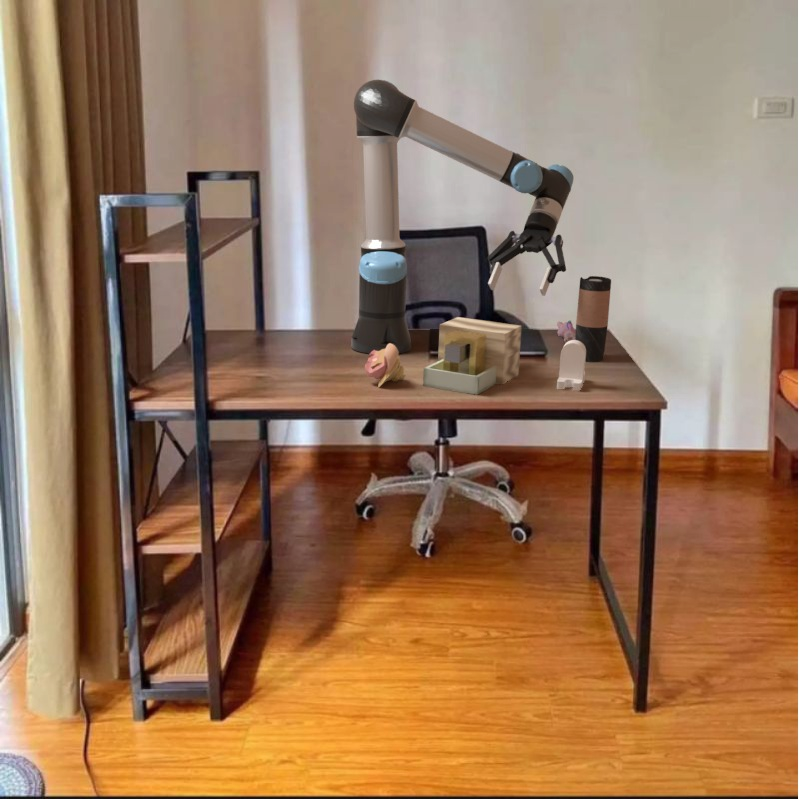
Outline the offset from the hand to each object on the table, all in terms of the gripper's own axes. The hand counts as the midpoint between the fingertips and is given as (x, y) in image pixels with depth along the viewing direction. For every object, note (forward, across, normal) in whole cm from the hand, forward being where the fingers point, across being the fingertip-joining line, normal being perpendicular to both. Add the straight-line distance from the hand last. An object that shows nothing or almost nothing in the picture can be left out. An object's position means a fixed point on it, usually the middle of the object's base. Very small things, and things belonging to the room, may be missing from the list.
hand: (516, 289), depth 247 cm
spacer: (+31, +1, -10) cm, 32 cm away
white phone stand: (+23, +21, +1) cm, 31 cm away
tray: (+33, +1, -10) cm, 35 cm away
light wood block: (+26, 0, -3) cm, 26 cm away
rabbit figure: (-6, +3, +32) cm, 33 cm away
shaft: (+22, 0, -8) cm, 24 cm away
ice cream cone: (+39, -14, -17) cm, 45 cm away
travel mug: (+5, +16, +20) cm, 26 cm away
